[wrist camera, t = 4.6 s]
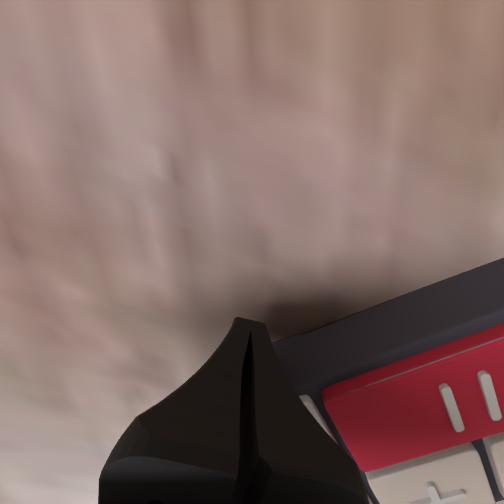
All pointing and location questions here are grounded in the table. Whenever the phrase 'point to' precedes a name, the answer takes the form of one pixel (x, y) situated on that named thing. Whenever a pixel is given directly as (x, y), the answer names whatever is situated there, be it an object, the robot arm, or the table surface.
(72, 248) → the table surface
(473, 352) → the calculator
